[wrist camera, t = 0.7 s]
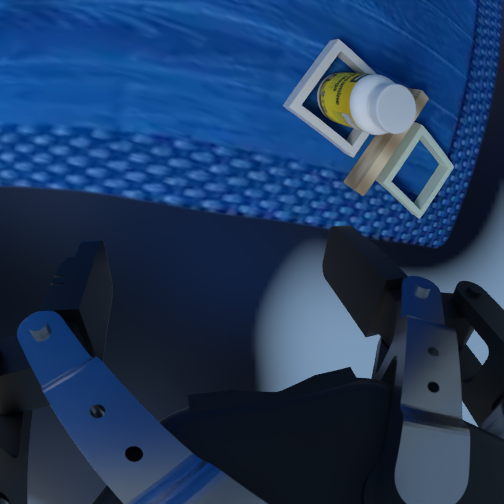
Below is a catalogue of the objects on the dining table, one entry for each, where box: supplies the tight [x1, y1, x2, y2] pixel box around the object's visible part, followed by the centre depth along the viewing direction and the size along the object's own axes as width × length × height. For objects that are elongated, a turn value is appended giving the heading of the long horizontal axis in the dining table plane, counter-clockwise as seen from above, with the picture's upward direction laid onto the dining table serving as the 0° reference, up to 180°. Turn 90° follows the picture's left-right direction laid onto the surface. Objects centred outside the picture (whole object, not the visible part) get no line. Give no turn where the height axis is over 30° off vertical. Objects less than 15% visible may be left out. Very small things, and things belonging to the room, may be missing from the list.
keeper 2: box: [375, 122, 454, 219], centre depth 39 cm, size 10×10×2 cm
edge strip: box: [344, 88, 429, 196], centre depth 35 cm, size 16×2×3 cm, turn 145°
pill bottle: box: [317, 72, 416, 135], centre depth 28 cm, size 6×6×11 cm
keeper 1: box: [283, 39, 376, 157], centre depth 32 cm, size 10×10×2 cm
